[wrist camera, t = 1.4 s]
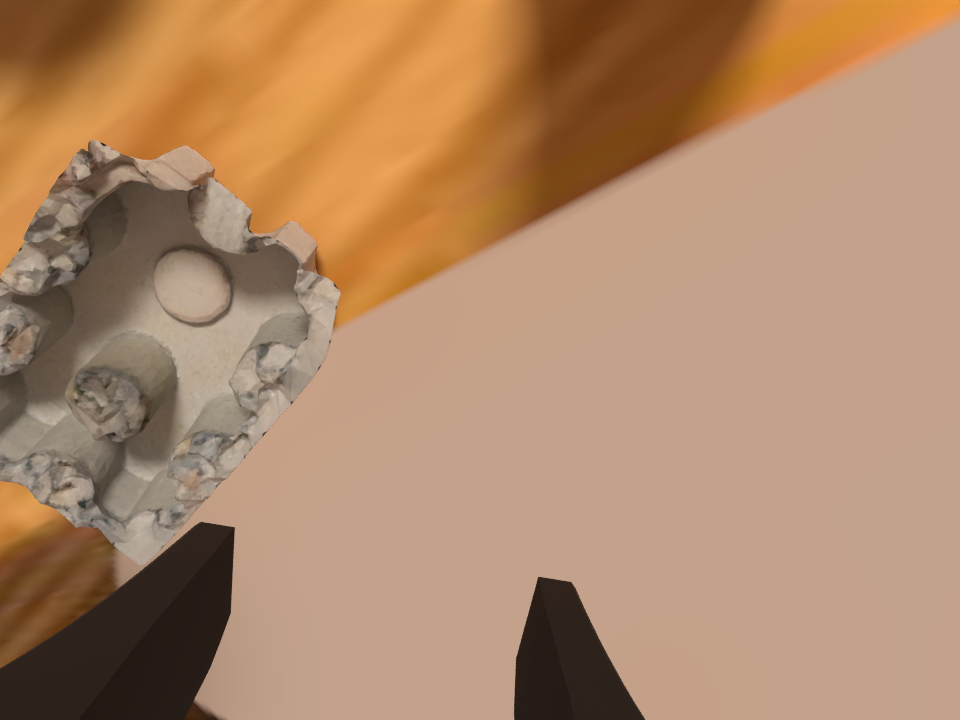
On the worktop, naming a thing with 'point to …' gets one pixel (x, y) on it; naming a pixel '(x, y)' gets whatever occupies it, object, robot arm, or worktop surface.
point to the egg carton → (149, 342)
